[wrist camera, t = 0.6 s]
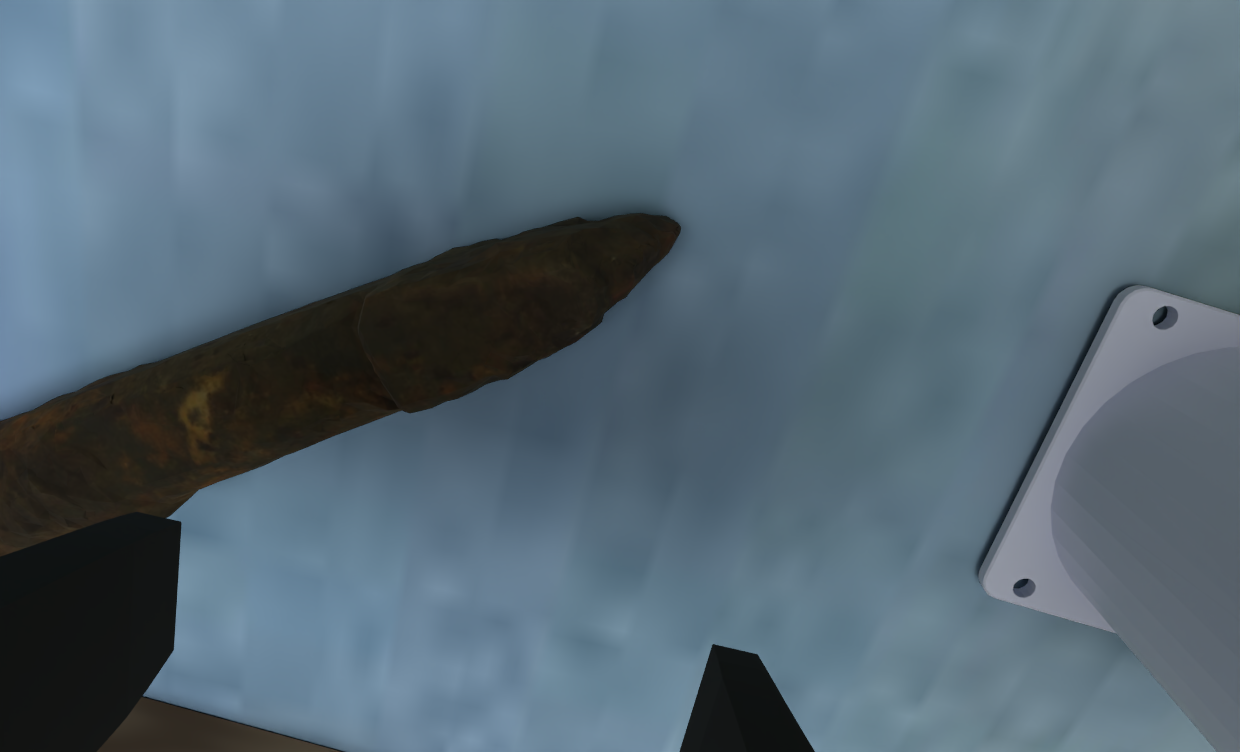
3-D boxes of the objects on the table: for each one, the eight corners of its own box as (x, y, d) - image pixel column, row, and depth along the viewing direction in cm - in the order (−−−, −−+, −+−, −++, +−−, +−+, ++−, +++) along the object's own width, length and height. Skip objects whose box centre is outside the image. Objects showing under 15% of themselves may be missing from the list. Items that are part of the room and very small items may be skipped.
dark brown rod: (33, 548, 22) (-124, 657, 18) (-49, 414, 21) (-238, 496, 17) (712, 331, 19) (726, 397, 15) (658, 164, 18) (655, 183, 14)
